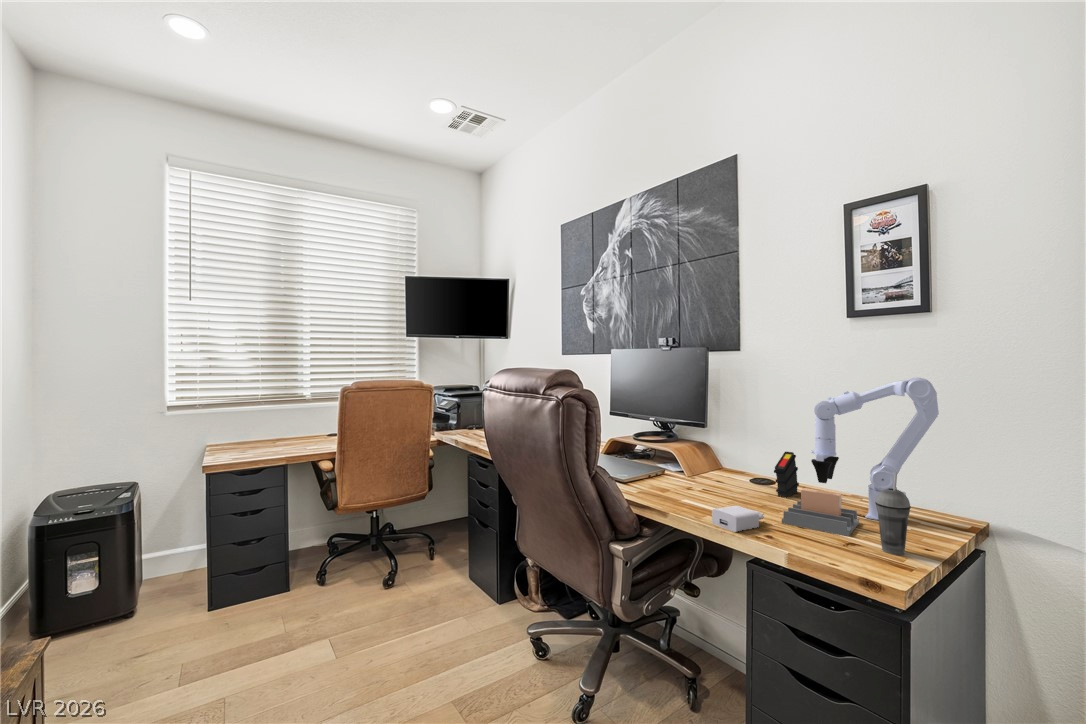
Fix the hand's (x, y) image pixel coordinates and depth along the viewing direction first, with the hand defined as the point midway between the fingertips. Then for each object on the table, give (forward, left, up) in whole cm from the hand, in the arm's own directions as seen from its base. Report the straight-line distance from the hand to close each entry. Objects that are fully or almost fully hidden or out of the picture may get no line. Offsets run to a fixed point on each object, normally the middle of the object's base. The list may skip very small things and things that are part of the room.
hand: (825, 480), depth 159 cm
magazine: (+15, -12, -10) cm, 22 cm away
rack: (-2, +16, -9) cm, 19 cm away
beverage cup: (-21, +29, -10) cm, 37 cm away
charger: (+15, +32, -10) cm, 37 cm away
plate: (-2, +16, -8) cm, 18 cm away
